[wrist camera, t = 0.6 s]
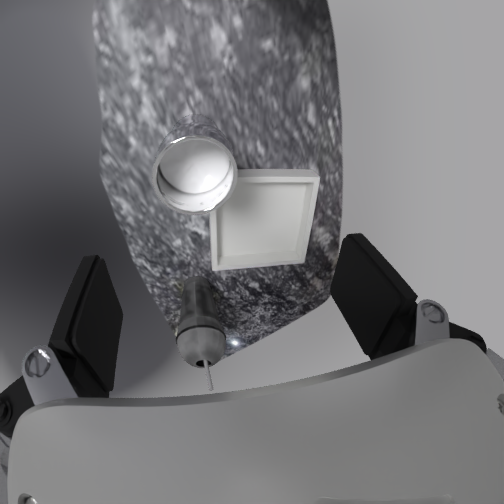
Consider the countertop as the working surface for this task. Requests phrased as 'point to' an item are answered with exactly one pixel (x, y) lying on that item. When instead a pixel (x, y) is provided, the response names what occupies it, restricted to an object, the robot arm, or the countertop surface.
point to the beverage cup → (200, 327)
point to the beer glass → (194, 167)
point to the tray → (264, 219)
